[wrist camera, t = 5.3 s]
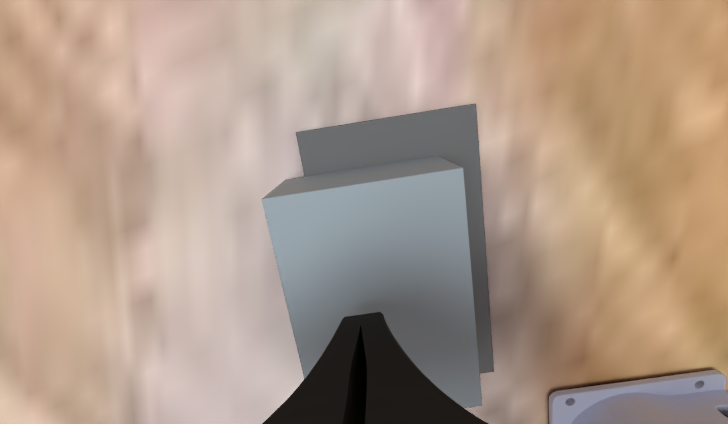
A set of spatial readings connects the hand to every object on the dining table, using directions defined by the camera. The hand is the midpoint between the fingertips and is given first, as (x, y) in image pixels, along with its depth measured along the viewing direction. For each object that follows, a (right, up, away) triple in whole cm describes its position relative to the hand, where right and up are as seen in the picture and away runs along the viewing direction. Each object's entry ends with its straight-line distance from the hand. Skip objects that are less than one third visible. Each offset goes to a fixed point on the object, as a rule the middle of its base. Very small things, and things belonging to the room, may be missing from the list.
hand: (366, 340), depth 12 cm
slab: (-3, 0, +4) cm, 5 cm away
